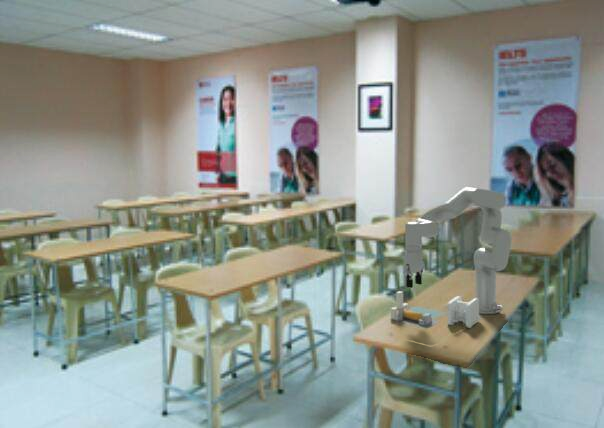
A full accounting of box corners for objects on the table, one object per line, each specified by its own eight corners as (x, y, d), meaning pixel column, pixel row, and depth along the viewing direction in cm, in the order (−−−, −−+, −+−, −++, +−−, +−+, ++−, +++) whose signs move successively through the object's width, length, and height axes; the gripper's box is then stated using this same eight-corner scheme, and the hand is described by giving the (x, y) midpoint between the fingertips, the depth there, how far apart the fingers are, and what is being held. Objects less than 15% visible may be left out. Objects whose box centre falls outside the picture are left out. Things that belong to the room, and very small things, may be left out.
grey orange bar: (431, 322, 239) (431, 313, 239) (426, 324, 236) (426, 316, 236) (403, 316, 250) (403, 307, 250) (398, 318, 247) (398, 309, 247)
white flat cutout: (408, 313, 252) (408, 289, 251) (395, 319, 244) (394, 295, 243) (404, 312, 254) (404, 289, 253) (390, 318, 246) (390, 294, 244)
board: (440, 322, 241) (440, 316, 240) (425, 329, 232) (425, 323, 231) (404, 314, 255) (404, 308, 255) (389, 320, 246) (389, 315, 246)
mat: (446, 314, 252) (446, 313, 252) (433, 320, 244) (433, 319, 244) (415, 307, 265) (414, 306, 265) (401, 313, 257) (401, 311, 257)
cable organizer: (468, 330, 228) (468, 305, 227) (445, 326, 235) (445, 302, 233) (479, 321, 240) (479, 297, 239) (457, 317, 247) (457, 294, 245)
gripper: (416, 244, 248) (417, 280, 250) (396, 250, 236) (396, 288, 238) (430, 246, 243) (430, 283, 245) (410, 252, 230) (410, 290, 233)
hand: (414, 285), depth 241 cm, fingers open, 6 cm apart
